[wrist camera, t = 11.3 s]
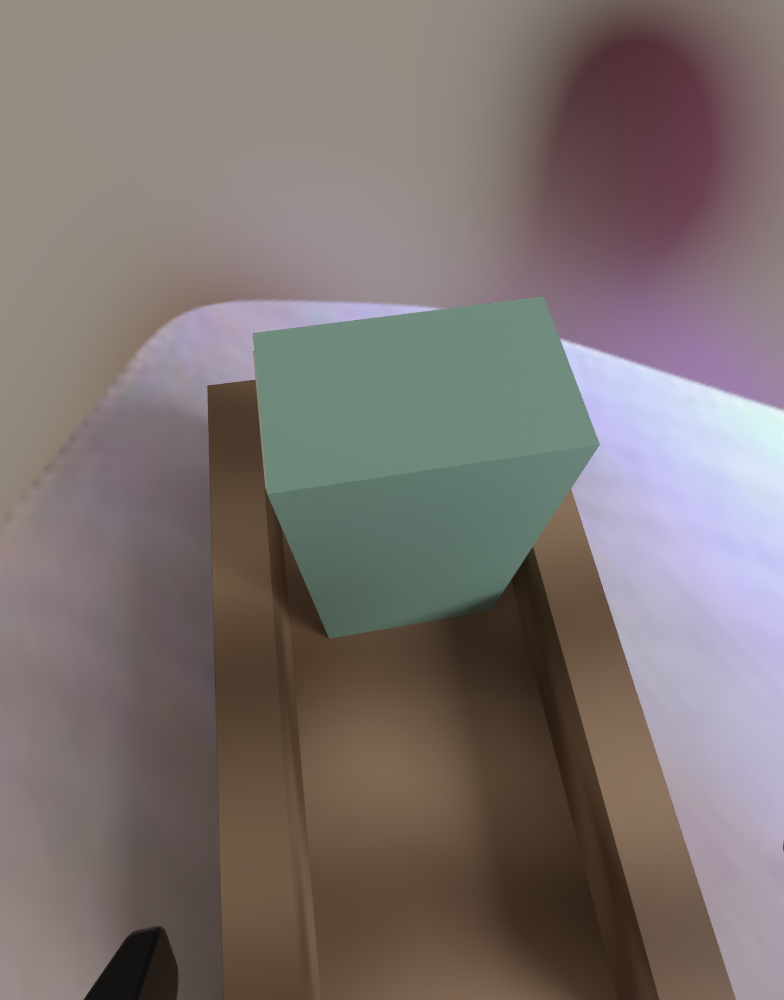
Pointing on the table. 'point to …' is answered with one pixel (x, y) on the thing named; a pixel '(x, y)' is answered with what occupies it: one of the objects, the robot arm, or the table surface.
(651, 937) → the tray
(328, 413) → the book
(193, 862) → the table surface
